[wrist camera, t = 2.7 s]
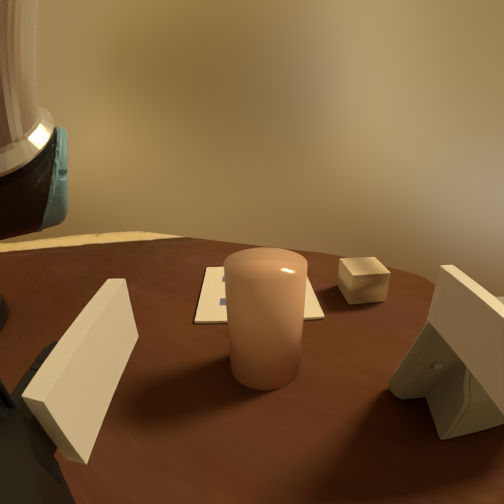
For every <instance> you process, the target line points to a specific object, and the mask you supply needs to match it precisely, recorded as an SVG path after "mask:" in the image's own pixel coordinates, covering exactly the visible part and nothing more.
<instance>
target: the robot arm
mask: <svg viewBox="0 0 504 504" xmlns="http://www.w3.org/2000/svg"><path fill="white" fill-rule="evenodd" d="M37 8H38V0H0V240H3V239H7V238H12V237H16V236H20V235H25V234H29V233H33V232H40V231H42V230H43V229H45V228H48V227H52V226H56V225H59V224H60V223H62V222H63V221H64V220H65V218H66V216H67V211H68V176H67V171H68V170H67V165H68V136H67V130H66V129H65V128H60V127H55V128H54V122H53V118H52V116H51V114H50V113H49V112H48V111H47V110H46V109H44V108H42V107H40V106H38V95H37V80H36V22H37ZM7 317H8V308H7V305H6V303H5V300H4V297H3V295H2V293H1V292H0V330H1V328H2V327H3V325H4V324H5V322H6V320H7ZM427 320H428V321H429V322H430V323H431V325H432V326H433V327H434V328H435V329H436V330H437V331H438V333H439V334H440V335H441V336H442V337H443V338H444V340H445V341H446V342H447V343H448V344H449V346H450V347H451V348H452V349H453V350H454V352H455V353H456V354H457V355H458V356H459V358H460V359H461V360H462V361H463V363H464V364H465V365H466V366H467V368H468V369H469V370H470V371H471V373H472V374H473V375H474V376H475V378H476V379H477V380H478V382H479V383H480V384H481V385H482V387H483V388H484V389H485V391H486V392H487V393H488V395H489V396H490V397H491V399H492V400H493V401H494V403H495V404H496V406H497V407H498V408H499V410H500V411H501V412H502V414H503V415H504V304H502V303H501V302H500V301H499V300H497V299H496V298H495V297H494V296H493V295H491V294H490V293H489V292H487V291H486V290H485V289H484V288H482V287H481V286H480V285H478V284H477V283H476V282H475V281H473V280H472V279H471V278H469V277H468V276H467V275H465V274H464V273H463V272H461V271H460V270H459V269H457V268H456V267H454V266H453V265H443V266H440V267H439V272H438V277H437V281H436V286H435V290H434V294H433V298H432V302H431V306H430V310H429V314H428V317H427ZM137 339H138V333H137V329H136V325H135V321H134V317H133V312H132V308H131V304H130V299H129V294H128V290H127V285H126V280H125V279H108V280H107V281H106V282H105V283H104V285H103V286H102V287H101V288H100V289H99V291H98V292H97V293H96V294H95V296H94V297H93V298H92V299H91V301H90V302H89V303H88V304H87V306H86V307H85V308H84V309H83V311H82V312H81V313H80V314H79V316H78V317H77V318H76V320H75V321H74V322H73V323H72V325H71V326H70V327H69V329H68V330H67V331H66V333H65V334H64V335H63V337H62V338H61V339H60V341H59V342H53V343H51V344H50V345H49V346H47V347H46V348H44V349H43V350H42V351H41V353H40V354H39V355H38V357H37V358H36V359H35V362H33V364H32V365H31V366H30V370H27V372H26V373H25V375H24V376H23V377H22V379H21V380H20V382H19V383H18V385H17V386H16V388H15V389H14V391H13V392H12V393H11V395H9V393H8V391H7V390H6V388H5V386H4V384H3V383H2V381H1V379H0V504H76V503H75V501H74V499H73V497H72V495H71V493H70V490H69V488H68V486H67V484H66V481H65V479H64V477H63V474H62V472H61V469H60V467H59V464H58V462H57V460H56V459H55V457H54V454H55V451H56V449H58V450H59V451H60V452H61V454H62V455H63V456H64V457H65V459H68V460H72V461H76V462H79V463H83V464H87V462H88V460H89V457H90V454H91V451H92V448H93V446H94V443H95V440H96V438H97V435H98V432H99V430H100V427H101V424H102V422H103V419H104V417H105V414H106V412H107V409H108V407H109V404H110V402H111V399H112V397H113V394H114V392H115V389H116V387H117V385H118V382H119V380H120V377H121V375H122V373H123V370H124V368H125V366H126V363H127V361H128V359H129V357H130V354H131V352H132V350H133V348H134V345H135V343H136V341H137Z"/></svg>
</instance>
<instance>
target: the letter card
mask: <svg viewBox="0 0 504 504" xmlns="http://www.w3.org/2000/svg"><path fill="white" fill-rule="evenodd" d="M313 319H324V314H323V312H322V309H321V307H320V305H319V303H318V300H317V298H316V296H315V293H314V291H313V289H312V286H311V284H310V282H309V280H308V277H307V279H306V294H305V307H304V319H303V320H313ZM195 323H227V310H226V294H225V278H224V267H207V269H206V273H205V278H204V282H203V286H202V290H201V295H200V299H199V304H198V308H197V313H196V317H195Z"/></svg>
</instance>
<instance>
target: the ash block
mask: <svg viewBox="0 0 504 504" xmlns="http://www.w3.org/2000/svg"><path fill="white" fill-rule="evenodd" d="M390 274H391V273H390V272H389V271H388V270H387V269H386V268H385V267H384V266H383V265H382V264H381V263H380V262H379V261H378V260H377V259H376V258H375V257H362V258H340V263H339V273H338V282H337V286H338V288H339V289H340V291H341V292H342V294H343V296H344V297H345V299H346V301H347V302H348V304H360V303H371V302H382V301H385V300H386V295H387V290H388V285H389V279H390Z"/></svg>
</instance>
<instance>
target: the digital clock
mask: <svg viewBox="0 0 504 504" xmlns="http://www.w3.org/2000/svg"><path fill="white" fill-rule="evenodd" d="M495 298H496V299H497V300H499V301H500V302H501V303H502V304H504V297H495ZM388 384H389V389H390V391H391V392H392V393H393V394H394V395H395V396H396V397H398V398H400V399H412V398H422V397H426V400H427V403H428V406H429V408H430V411H431V414H432V417H433V420H434V423H435V426H436V429H437V432H438V435H439V438H440V440H444V439H449V438H453V437H458V436H462V435H466V434H470V433H474V432H478V431H482V430H485V429H489V428H492V427H496V426H499V425H502V424H504V415H503V414H502V412H501V411H500V410H499V408H498V407H497V406H496V404H495V403H494V401H493V400H492V399H491V397H490V396H489V395H488V393H487V392H486V391H485V389H484V388H483V387H482V385H481V384H480V383H479V382H478V380H477V379H476V378H475V376H474V375H473V374H472V373H471V371H470V370H469V369H468V368H467V366H466V365H465V364H464V363H463V361H462V360H461V359H460V358H459V356H458V355H457V354H456V353H455V352H454V350H453V349H452V348H451V347H450V346H449V344H448V343H447V342H446V341H445V340H444V338H443V337H442V336H441V335H440V334H439V333H438V331H437V330H436V329H435V328H434V327H433V326H432V325H431V323H430V322H429V321H428V320H427V322H426V324H425V325H424V327H423V329H422V330H421V332H420V334H419V335H418V337H417V339H416V340H415V342H414V343H413V345H412V346H411V348H410V350H409V351H408V353H407V354H406V356H405V357H404V359H403V360H402V362H401V363H400V365H399V366H398V367H397V369H396V371H395V372H394V374H393V375H392V377H391V379H390V380H389V383H388Z"/></svg>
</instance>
